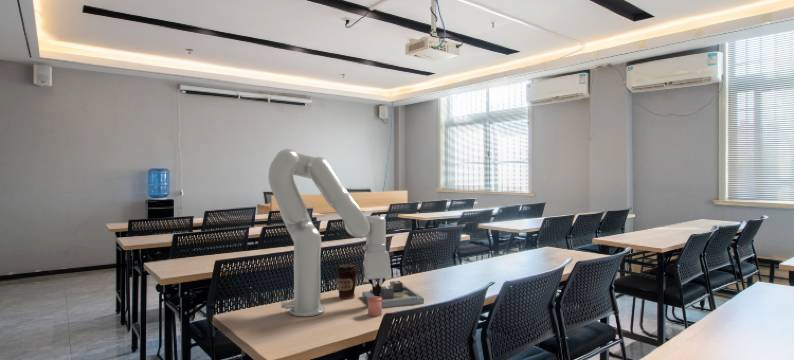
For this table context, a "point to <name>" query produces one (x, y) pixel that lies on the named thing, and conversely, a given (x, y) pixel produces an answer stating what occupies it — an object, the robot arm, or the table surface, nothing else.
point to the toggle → (387, 292)
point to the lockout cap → (374, 306)
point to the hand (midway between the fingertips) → (376, 295)
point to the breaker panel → (398, 296)
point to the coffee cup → (346, 280)
